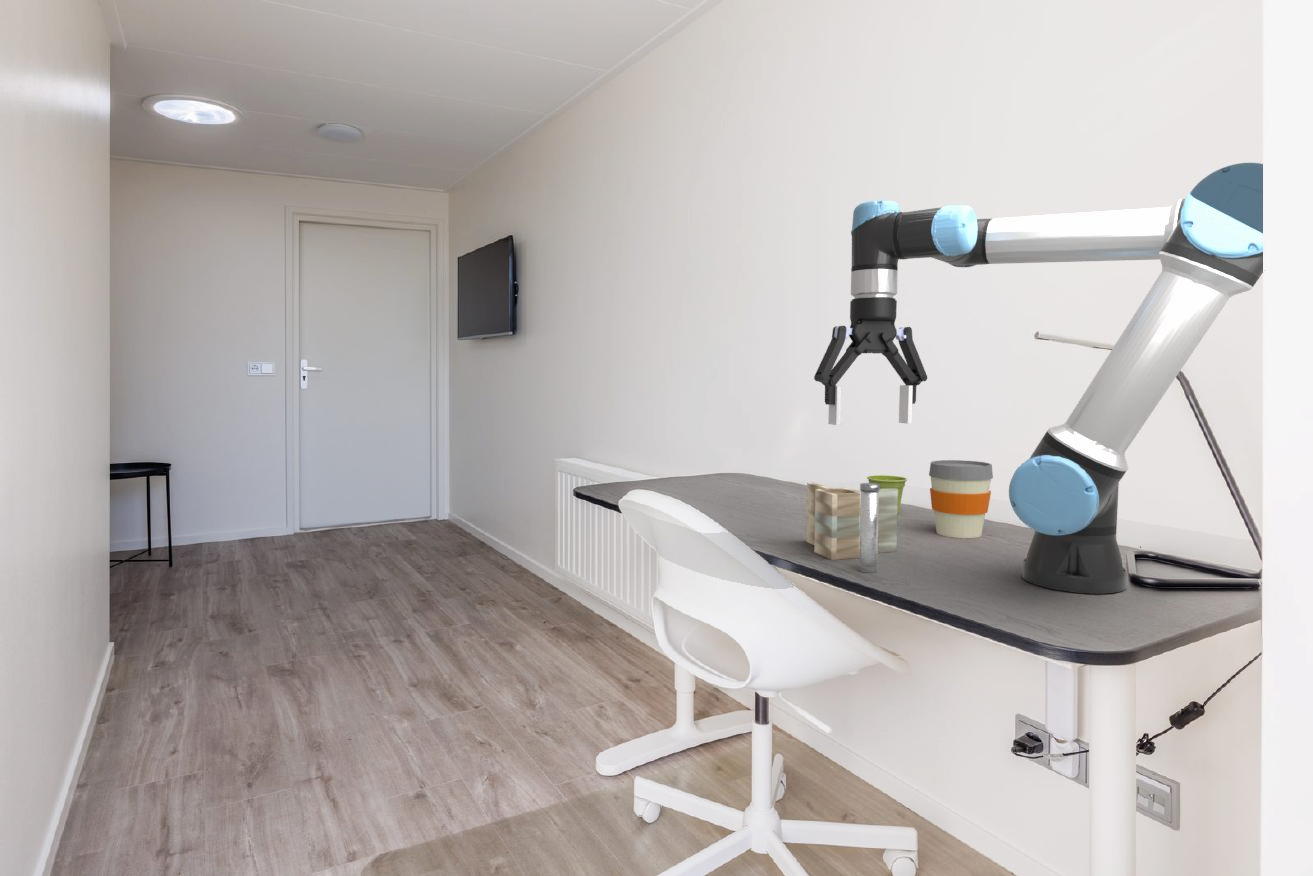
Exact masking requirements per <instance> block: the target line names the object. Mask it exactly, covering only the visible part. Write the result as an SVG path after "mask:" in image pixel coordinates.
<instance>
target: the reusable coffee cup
mask: <svg viewBox="0 0 1313 876" xmlns="http://www.w3.org/2000/svg"><path fill="white" fill-rule="evenodd" d="M928 472H929V473H928V475H929V477H930V482H931V483H930V484H931V487H930V488H929V492H930V502H931V509H932V511H933V512H934V513H933V514H934V521H935V531H936V534H937V535H940V536H942V537H943V536H944V537H948V538H956V539H976V538H980V537H982V535H983V530H984V529H983V528H984V523H985V522H984V521H985V518H986V517H985V515H986V514H987V513H988V511H989V507H990V499H991V494H992V491H991V490H990V486H991V481H992V479H993V478H994V475H993V464H992V463H989V462H984V461H976V460H957V459H954V460H953V459H951V460H950V459H949V460H948V459H947V460H945V459H944V460H933V461H931V462H930V466H929V471H928Z"/></svg>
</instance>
